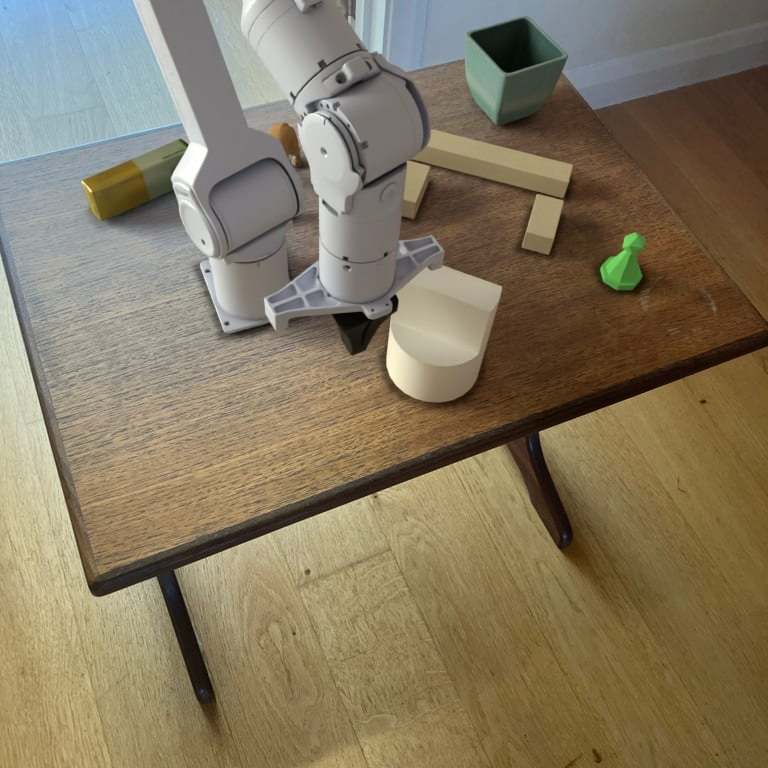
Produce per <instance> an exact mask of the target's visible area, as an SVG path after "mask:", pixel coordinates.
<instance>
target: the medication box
mask: <svg viewBox="0 0 768 768" xmlns="http://www.w3.org/2000/svg"><path fill="white" fill-rule="evenodd" d="M188 146H189V143H188V142H187V141H186V140H184V139H182V138H178V139H175V140H173V141H172V142H171V141H170V142H169V143H167V144H164V145H162V146H159V147H157V148H155V149H153V150H150V151H148V152H145V153H143V154H140V155H138V156H136V157H133V158H130V159H129V160H127V161H124V162H122V163H119V164H117V165H115V166H112V167H110V168H107V169H105V170H102V171H100V172H98V173H96V174H94V175H91V176H89V177H86V178H84V179H82V180H81V181H80V183H81V187H82V188H83V191H84V192H83V193H84V195H85V196H86V200H87V202H88V206H89V207H88V209H89V212H91V213H92V214H93V216H94V217H95V218H96V219H98V221H100V222H104V221H106V220H109V219H111V218H113V217H115V216H118V215H121V214H122V213H125V212H127V211H129V210H131V209H134V208H137V207H138V206H141V205H143V204H145V203H148V202H150V201H152V200H154V199H156V198H158V197H162V196H163V195H166V194H168V193H170V192H173V191H174V189H173V183H172V181H171V177H172V175H173V172H174V171H175V169H176V167H177V165H178V164H179V162H180V160H181V159H182V157H183V155H184V153H185V151H186V150H187V148H188Z"/></svg>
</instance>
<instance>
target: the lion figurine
mask: <svg viewBox="0 0 768 768" xmlns="http://www.w3.org/2000/svg"><path fill="white" fill-rule="evenodd" d="M268 133H269V134H271V135H272V136H274V137H276V138H277V139H278V140H280V141H281V144H282V146H283V148H284V150H285V153H286V155H287V157H288V159H289V160H290V155H291V156H292V160H291V164H292V166H293V167H300V166H301V165H302V164H303V161H302V157H301V150H302V149H301V148H300V145H299V139H298V136H297V135H298V134H297V132H296V129H295V128H294V127H292V126H290V125H289V123H288V122H282V123H278V124H275V125H273V126H272V127H271V128H270V129H269V131H268Z"/></svg>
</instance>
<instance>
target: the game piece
mask: <svg viewBox="0 0 768 768" xmlns="http://www.w3.org/2000/svg"><path fill="white" fill-rule="evenodd" d="M646 243H647V238H645V237H644V236H642V235H641V234H639V233H638V232H636V231H634V232H632V233H630V234H627V235H625V236H624V238H623V243H622V246H621V248H622V249H623V250H622V251H620V252H619V253H618V254H617V255H616V256H609V258H607V259H606V260H605V262H604V263H602V264H601V266H600V269H599V271H600V275H601V279H602V282H603V283H604V284H605V285H607V286H609V287H611V288H612V289H613V290H615V291H633V290H634V288H636V287H637V286H638V284H639V283H641V280H642V279H643V273H642V270H641V268H640V264H639V263H638V254H639V253H642V252H644V249H645V245H646Z"/></svg>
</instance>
